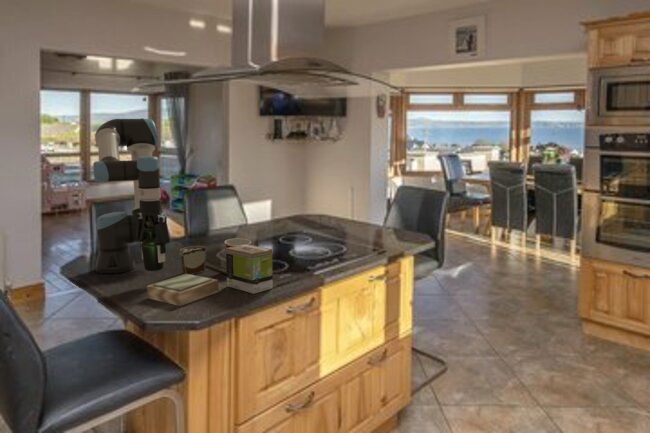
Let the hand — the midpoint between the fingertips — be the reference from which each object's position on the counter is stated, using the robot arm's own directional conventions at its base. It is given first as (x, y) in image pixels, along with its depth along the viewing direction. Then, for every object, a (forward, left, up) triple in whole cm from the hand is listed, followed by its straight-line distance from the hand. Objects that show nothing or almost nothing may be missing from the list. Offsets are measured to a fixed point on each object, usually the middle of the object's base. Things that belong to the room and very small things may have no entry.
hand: (153, 260), depth 203 cm
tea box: (+32, +16, -10) cm, 37 cm away
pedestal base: (+18, -3, -9) cm, 21 cm away
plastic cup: (+12, +33, -10) cm, 36 cm away
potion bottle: (0, 0, -3) cm, 3 cm away
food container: (-2, +20, -10) cm, 22 cm away
